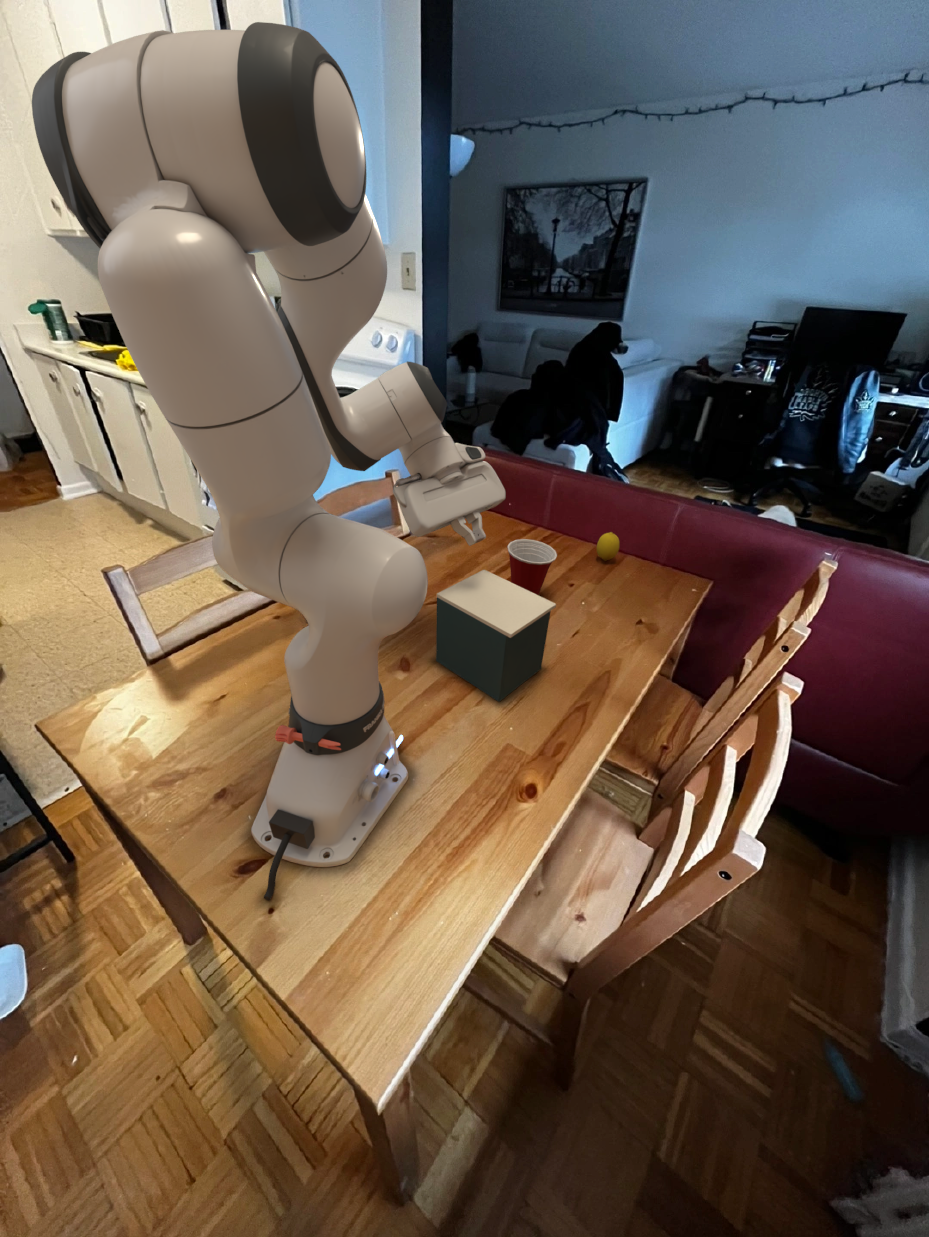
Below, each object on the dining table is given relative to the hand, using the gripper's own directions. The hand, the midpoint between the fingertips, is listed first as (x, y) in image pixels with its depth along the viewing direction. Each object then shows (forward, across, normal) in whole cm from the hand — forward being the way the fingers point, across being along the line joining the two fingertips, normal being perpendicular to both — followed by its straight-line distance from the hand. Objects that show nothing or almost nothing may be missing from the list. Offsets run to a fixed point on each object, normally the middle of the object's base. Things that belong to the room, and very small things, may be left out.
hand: (478, 542), depth 82 cm
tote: (+20, 0, +14) cm, 24 cm away
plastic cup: (+13, +25, +21) cm, 35 cm away
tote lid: (+10, 0, +3) cm, 11 cm away
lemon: (+16, +54, +19) cm, 59 cm away
